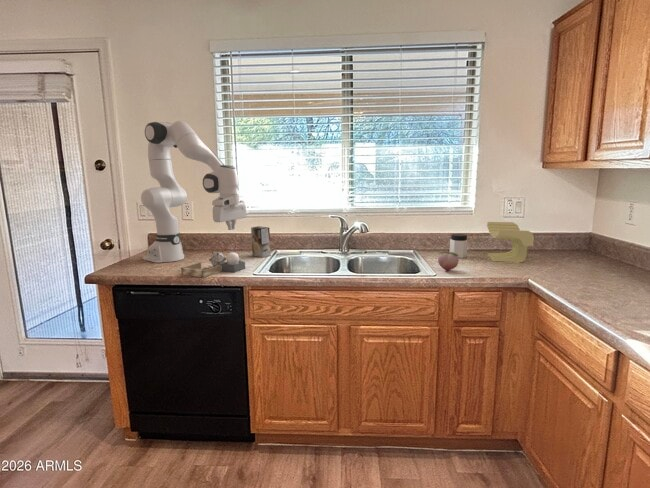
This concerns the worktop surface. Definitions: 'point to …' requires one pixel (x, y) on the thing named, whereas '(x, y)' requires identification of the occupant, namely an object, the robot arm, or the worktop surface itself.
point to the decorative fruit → (448, 260)
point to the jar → (459, 244)
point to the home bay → (194, 270)
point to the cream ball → (232, 258)
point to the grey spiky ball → (217, 258)
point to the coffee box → (260, 241)
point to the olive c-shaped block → (515, 235)
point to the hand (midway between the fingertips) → (231, 229)
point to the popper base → (233, 266)
